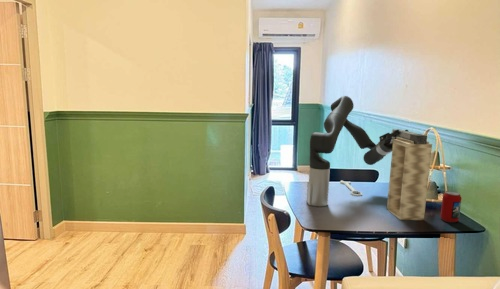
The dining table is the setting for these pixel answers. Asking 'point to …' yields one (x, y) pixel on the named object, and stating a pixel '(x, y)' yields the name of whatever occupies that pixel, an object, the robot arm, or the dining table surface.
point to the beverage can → (451, 206)
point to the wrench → (351, 188)
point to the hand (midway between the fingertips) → (402, 131)
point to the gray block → (412, 136)
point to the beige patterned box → (408, 179)
